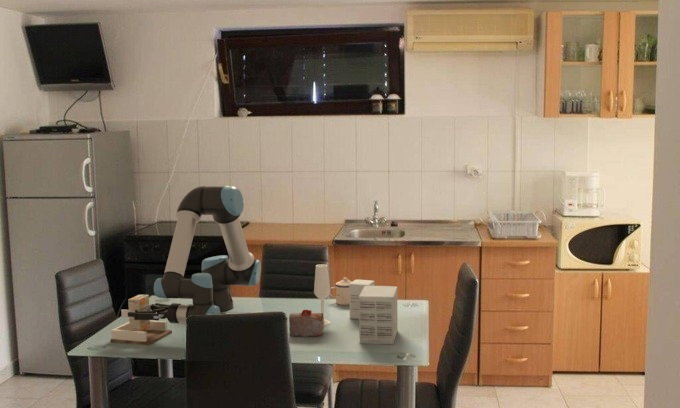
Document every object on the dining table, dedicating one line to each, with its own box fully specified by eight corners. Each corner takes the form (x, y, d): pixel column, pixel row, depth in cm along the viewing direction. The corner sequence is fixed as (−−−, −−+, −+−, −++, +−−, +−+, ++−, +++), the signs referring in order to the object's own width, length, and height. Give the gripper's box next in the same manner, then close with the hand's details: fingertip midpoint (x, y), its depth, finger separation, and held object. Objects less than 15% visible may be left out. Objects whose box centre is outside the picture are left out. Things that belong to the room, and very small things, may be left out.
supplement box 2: (355, 313, 298) (355, 278, 297) (375, 314, 295) (375, 280, 294) (348, 318, 290) (348, 283, 288) (369, 320, 287) (368, 284, 285)
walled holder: (171, 332, 274) (171, 321, 274) (149, 345, 259) (149, 333, 258) (134, 329, 279) (134, 318, 278) (110, 341, 264) (109, 330, 263)
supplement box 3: (364, 330, 273) (364, 285, 271) (398, 331, 271) (397, 285, 269) (358, 343, 256) (357, 295, 254) (394, 344, 254) (393, 296, 252)
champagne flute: (325, 326, 280) (324, 267, 277) (311, 323, 283) (310, 266, 280) (333, 321, 285) (332, 264, 283) (319, 319, 289) (318, 263, 286)
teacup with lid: (356, 300, 320) (356, 275, 318) (354, 305, 311) (353, 280, 310) (330, 300, 321) (330, 275, 320) (327, 305, 312) (327, 279, 311)
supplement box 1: (141, 333, 264) (139, 299, 263) (129, 332, 265) (127, 299, 264) (151, 326, 272) (149, 294, 271) (139, 326, 273) (138, 294, 272)
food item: (324, 331, 272) (324, 307, 271) (323, 337, 264) (323, 312, 263) (290, 331, 273) (289, 307, 272) (288, 338, 265) (287, 313, 264)
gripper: (166, 331, 253) (113, 327, 260) (194, 315, 273) (144, 312, 280) (165, 311, 252) (111, 307, 259) (193, 297, 272) (143, 294, 279)
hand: (129, 310), depth 269 cm, fingers closed on supplement box 1, 8 cm apart
